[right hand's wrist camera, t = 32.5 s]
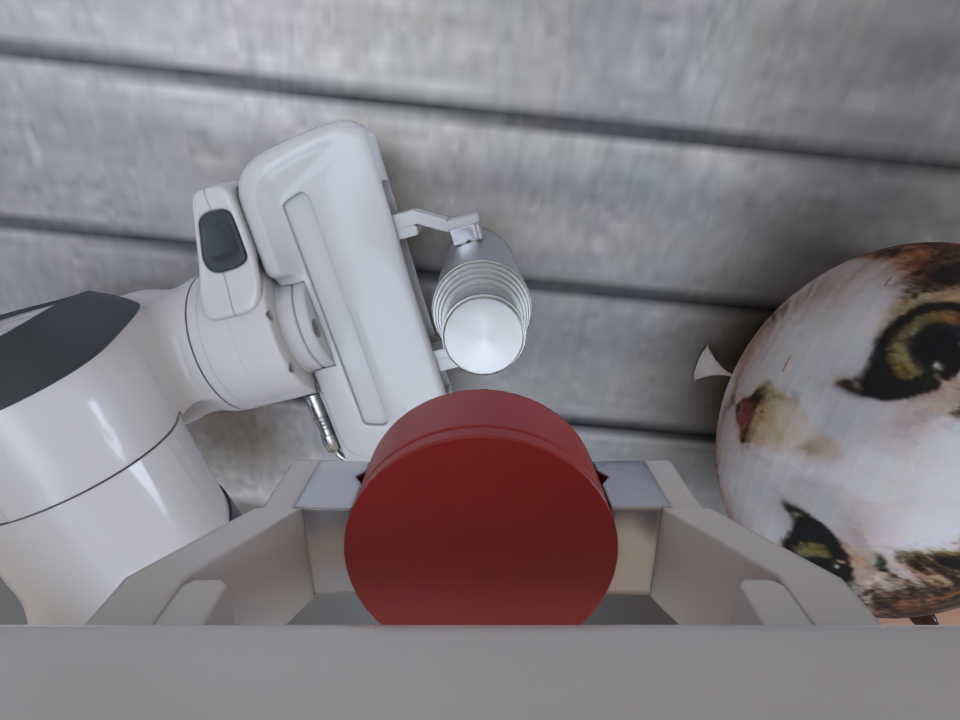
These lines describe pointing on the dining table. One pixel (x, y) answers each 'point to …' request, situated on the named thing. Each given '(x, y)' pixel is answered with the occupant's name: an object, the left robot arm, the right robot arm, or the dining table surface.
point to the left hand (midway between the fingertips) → (493, 273)
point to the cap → (481, 518)
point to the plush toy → (855, 428)
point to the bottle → (481, 306)
